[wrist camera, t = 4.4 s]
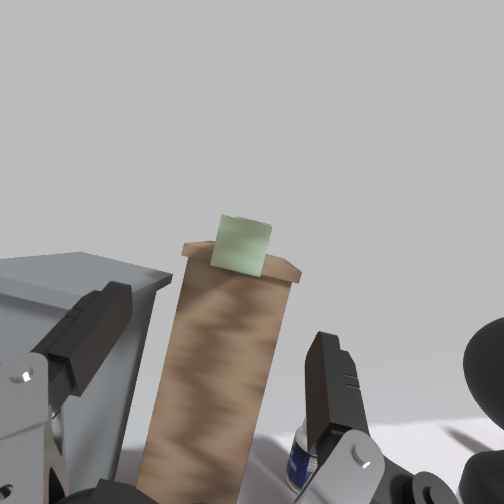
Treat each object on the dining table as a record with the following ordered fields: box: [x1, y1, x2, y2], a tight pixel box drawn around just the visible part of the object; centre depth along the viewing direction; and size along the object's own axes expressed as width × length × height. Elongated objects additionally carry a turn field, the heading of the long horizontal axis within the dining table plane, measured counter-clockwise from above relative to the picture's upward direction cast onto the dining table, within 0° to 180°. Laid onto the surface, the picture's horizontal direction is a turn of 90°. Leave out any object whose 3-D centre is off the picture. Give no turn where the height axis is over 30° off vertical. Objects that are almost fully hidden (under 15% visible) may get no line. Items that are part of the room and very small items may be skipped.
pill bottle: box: [285, 416, 317, 494], centre depth 42 cm, size 5×5×10 cm
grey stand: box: [0, 252, 173, 495], centre depth 24 cm, size 10×13×28 cm
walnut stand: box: [136, 241, 302, 504], centre depth 31 cm, size 10×14×32 cm
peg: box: [210, 215, 272, 277], centre depth 25 cm, size 4×22×4 cm, turn 179°
